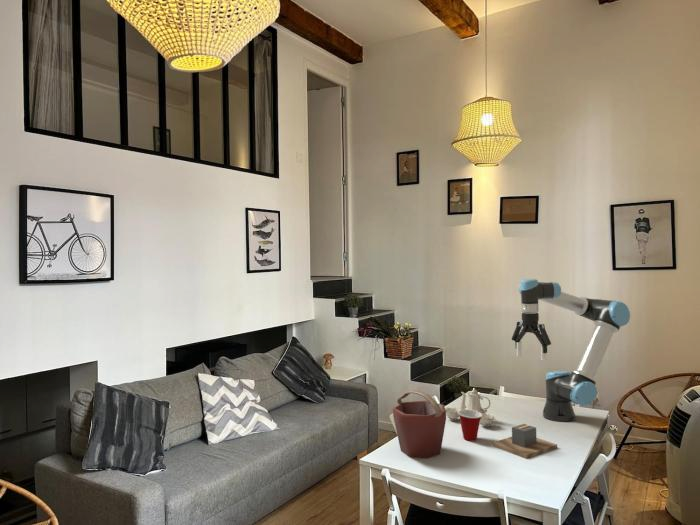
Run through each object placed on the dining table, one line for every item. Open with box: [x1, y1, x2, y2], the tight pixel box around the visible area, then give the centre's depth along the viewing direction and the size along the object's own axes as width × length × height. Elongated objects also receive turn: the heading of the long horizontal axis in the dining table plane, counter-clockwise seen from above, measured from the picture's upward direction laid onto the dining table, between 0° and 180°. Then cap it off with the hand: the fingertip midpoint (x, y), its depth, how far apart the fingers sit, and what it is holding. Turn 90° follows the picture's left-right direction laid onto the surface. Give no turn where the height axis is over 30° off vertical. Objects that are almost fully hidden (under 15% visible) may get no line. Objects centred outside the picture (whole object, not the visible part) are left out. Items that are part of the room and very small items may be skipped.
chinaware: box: [445, 387, 498, 429], centre depth 267 cm, size 28×17×17 cm, turn 56°
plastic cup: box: [458, 409, 482, 442], centre depth 243 cm, size 11×11×12 cm
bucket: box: [392, 390, 447, 460], centre depth 230 cm, size 24×22×25 cm
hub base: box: [491, 436, 558, 459], centre depth 231 cm, size 20×18×6 cm
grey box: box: [511, 423, 537, 448], centre depth 231 cm, size 8×6×7 cm
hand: (531, 358), depth 250 cm, fingers open, 13 cm apart
